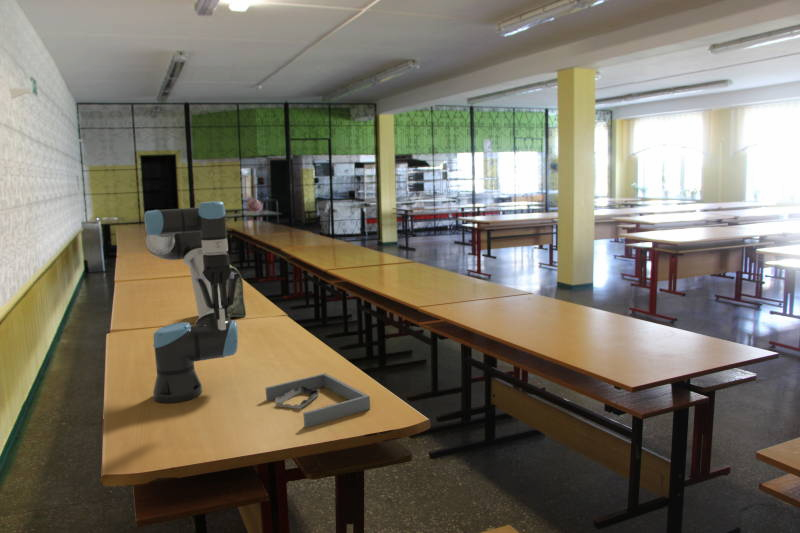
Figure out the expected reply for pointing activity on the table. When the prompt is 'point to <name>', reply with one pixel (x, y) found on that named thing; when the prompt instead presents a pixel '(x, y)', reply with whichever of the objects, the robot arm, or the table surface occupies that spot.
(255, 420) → the table surface
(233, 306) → the bag
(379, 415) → the table surface
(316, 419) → the box
